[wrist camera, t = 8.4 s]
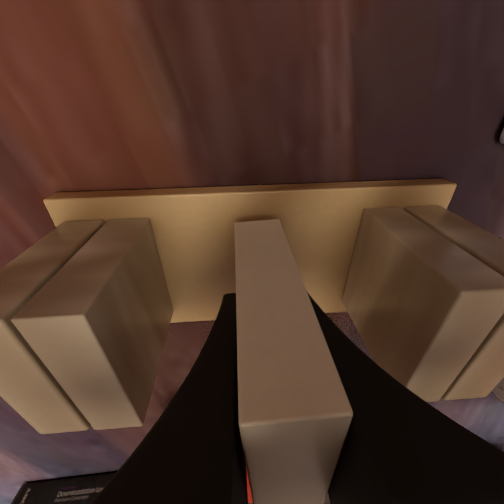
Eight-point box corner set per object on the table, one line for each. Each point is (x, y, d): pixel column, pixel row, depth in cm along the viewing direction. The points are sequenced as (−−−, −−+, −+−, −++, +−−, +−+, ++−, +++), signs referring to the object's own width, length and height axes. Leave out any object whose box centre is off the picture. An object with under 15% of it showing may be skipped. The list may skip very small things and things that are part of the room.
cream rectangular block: (279, 218, 11) (355, 414, 4) (278, 314, 14) (321, 512, 7) (234, 221, 11) (238, 426, 4) (244, 317, 14) (255, 519, 7)
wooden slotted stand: (443, 178, 12) (637, 253, 6) (395, 297, 17) (486, 409, 11) (55, 191, 11) (-134, 295, 6) (110, 315, 16) (38, 447, 10)
